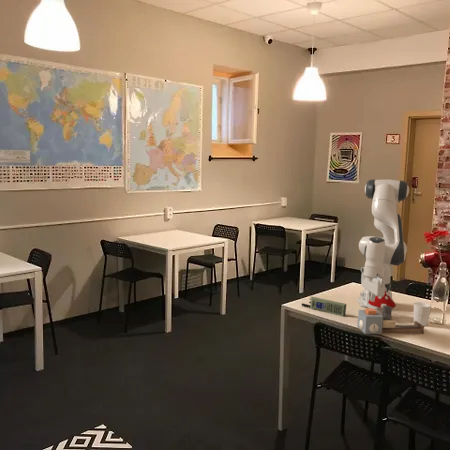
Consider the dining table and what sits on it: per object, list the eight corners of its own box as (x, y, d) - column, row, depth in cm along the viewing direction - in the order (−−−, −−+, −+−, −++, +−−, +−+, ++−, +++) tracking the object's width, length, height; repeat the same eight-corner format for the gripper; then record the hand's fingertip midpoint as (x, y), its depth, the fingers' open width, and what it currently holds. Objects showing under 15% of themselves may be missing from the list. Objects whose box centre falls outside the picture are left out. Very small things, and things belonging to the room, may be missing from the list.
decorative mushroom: (395, 323, 244) (398, 294, 242) (366, 320, 248) (369, 291, 246) (393, 315, 258) (396, 287, 256) (366, 312, 261) (369, 284, 259)
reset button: (364, 314, 234) (365, 308, 233) (372, 314, 234) (373, 308, 234) (367, 317, 230) (368, 310, 229) (376, 317, 230) (376, 311, 230)
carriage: (377, 322, 236) (378, 304, 235) (389, 322, 237) (390, 304, 236) (382, 327, 230) (384, 309, 228) (395, 327, 230) (396, 309, 229)
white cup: (420, 327, 240) (422, 307, 239) (408, 322, 247) (410, 302, 246) (432, 325, 243) (434, 306, 242) (420, 320, 251) (422, 301, 249)
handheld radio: (343, 317, 252) (300, 307, 266) (345, 316, 254) (302, 306, 269) (344, 304, 251) (301, 295, 266) (347, 303, 254) (303, 294, 268)
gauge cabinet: (356, 326, 237) (358, 309, 236) (373, 326, 238) (374, 309, 237) (364, 334, 227) (366, 316, 226) (381, 334, 228) (383, 316, 227)
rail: (374, 327, 237) (374, 320, 237) (415, 327, 239) (416, 320, 239) (380, 333, 229) (381, 326, 229) (423, 333, 231) (424, 326, 231)
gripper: (389, 277, 219) (387, 307, 221) (372, 267, 239) (369, 295, 241) (376, 277, 218) (373, 307, 220) (359, 267, 239) (357, 294, 240)
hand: (371, 300), depth 231 cm, fingers closed
